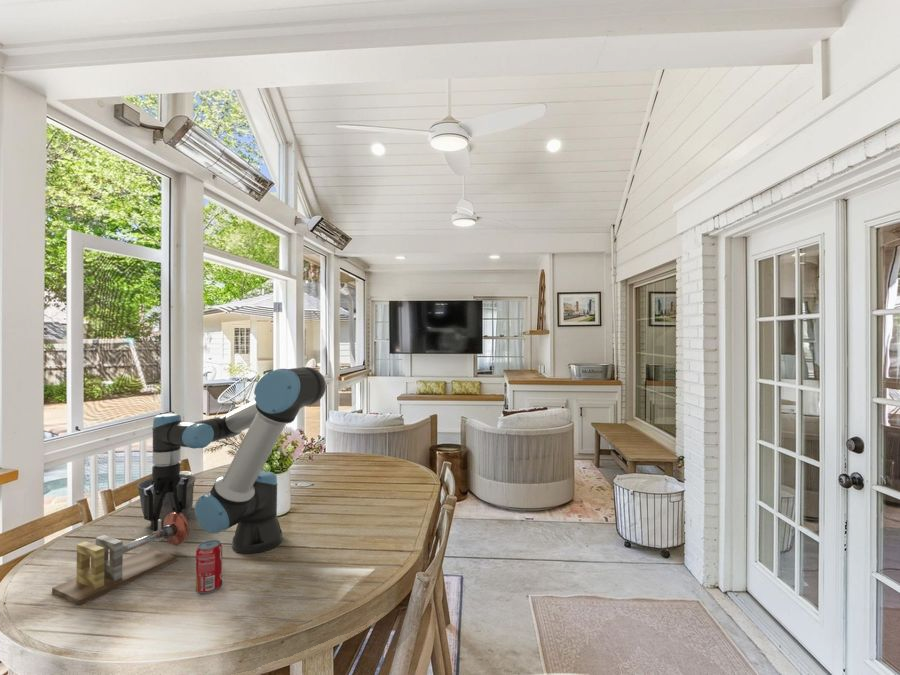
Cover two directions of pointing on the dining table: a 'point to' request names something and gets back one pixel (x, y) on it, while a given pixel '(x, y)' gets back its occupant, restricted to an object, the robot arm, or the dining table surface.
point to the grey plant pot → (166, 503)
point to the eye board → (127, 573)
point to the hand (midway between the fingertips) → (165, 537)
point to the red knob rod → (165, 532)
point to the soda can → (208, 566)
